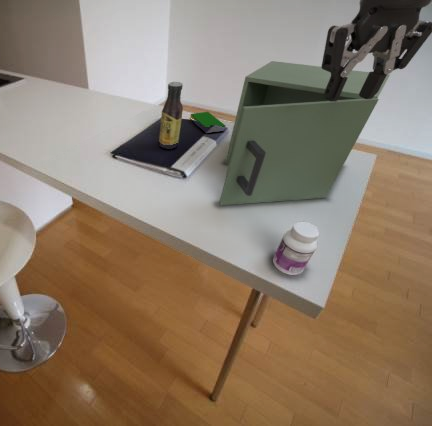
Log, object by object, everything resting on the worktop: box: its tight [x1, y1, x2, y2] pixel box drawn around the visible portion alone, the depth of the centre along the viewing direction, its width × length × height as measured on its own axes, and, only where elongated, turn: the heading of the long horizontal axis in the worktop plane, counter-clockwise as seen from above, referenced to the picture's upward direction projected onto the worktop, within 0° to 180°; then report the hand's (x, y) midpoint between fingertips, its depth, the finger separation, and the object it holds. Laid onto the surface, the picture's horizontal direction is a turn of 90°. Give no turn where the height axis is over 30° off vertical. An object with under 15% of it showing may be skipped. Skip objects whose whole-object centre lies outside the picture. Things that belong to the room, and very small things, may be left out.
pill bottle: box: [272, 221, 321, 276], centre depth 52 cm, size 5×5×10 cm
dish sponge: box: [189, 111, 226, 128], centre depth 105 cm, size 7×14×2 cm, turn 12°
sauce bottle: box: [158, 81, 184, 145], centre depth 88 cm, size 6×6×20 cm
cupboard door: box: [218, 98, 380, 206], centre depth 61 cm, size 7×26×24 cm, turn 93°
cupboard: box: [224, 60, 391, 165], centre depth 75 cm, size 18×26×24 cm
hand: (347, 98), depth 47 cm, fingers open, 5 cm apart
